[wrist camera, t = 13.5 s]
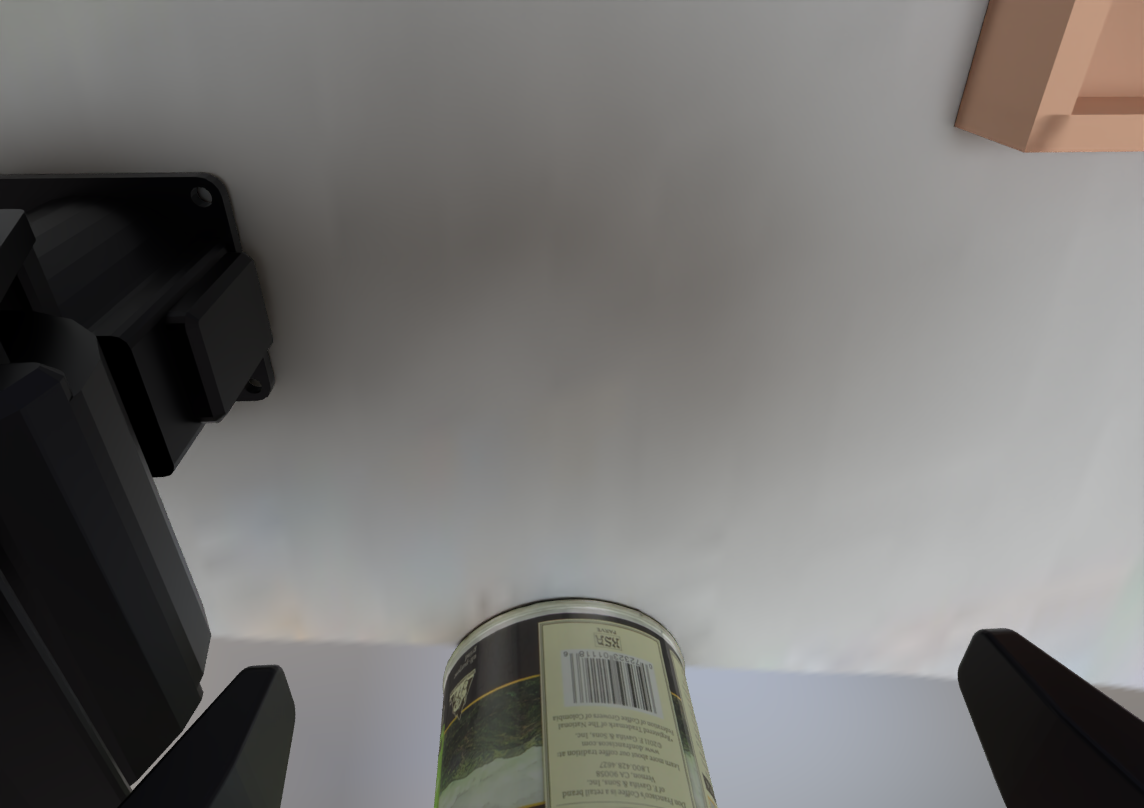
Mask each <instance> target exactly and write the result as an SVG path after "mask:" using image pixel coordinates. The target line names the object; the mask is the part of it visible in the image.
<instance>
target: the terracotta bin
mask: <svg viewBox="0 0 1144 808" xmlns="http://www.w3.org/2000/svg"><path fill="white" fill-rule="evenodd" d="M955 127H957V128H960V129H963V130H965V131H968V132H971V133H973V134H976V135H979V136H981V137H984V138H987V139H989V140H992V141H995V142H998V143H1000V144H1003V145H1006V146H1008V147H1011V148H1014V149H1016V150H1019V151H1022V152H1126V151H1144V0H990V1H989V5H988V8H987V12H986V16H985V19H984V23H983V26H982V30H981V33H980V37H979V40H978V44H977V48H976V51H975V55H974V58H973V62H972V65H971V69H970V72H969V76H968V80H967V83H966V87H965V90H964V94H963V97H962V101H961V104H960V108H959V112H958V115H957V119H956V122H955Z"/></svg>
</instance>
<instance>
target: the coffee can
mask: <svg viewBox="0 0 1144 808" xmlns="http://www.w3.org/2000/svg"><path fill="white" fill-rule="evenodd" d="M443 694H444V699H443V710H442V723H441V735H440V747H439V755H438V770H437V780H436V791H435V802H434V808H717V804H716V800H715V796H714V791H713V787H712V783H711V779H710V775H709V772H708V767H707V763H706V760H705V755H704V751H703V747H702V743H701V739H700V735H699V731H698V727H697V723H696V719H695V715H694V711H693V707H692V703H691V698H690V694H689V690H688V686H687V682H686V677H685V663H684V659H683V657H682V654H681V651H680V648H679V646H678V645H677V643H676V642H675V640H674V638H673V637H672V636H671V635H670V634H669V632H668V631H666V630H665V629H664V628H663V627H662V626H661V625H660V624H659V623H657V622H656V621H654V620H653V619H651V618H650V617H648V616H646V615H644V614H642V613H641V612H639V611H636V610H633V609H630V608H626V607H623V606H620V605H616V604H613V603H607V602H601V601H595V600H557V601H548V602H539V603H535V604H533V605H530V606H526V607H521V608H518V609H514V610H512V611H509V612H507V613H504V614H502V615H499V616H497V617H495V618H493V619H491V620H490V621H488V622H486V623H485V624H483V625H482V626H480V627H479V628H477V629H476V630H474V631H473V632H472V633H471V634H470V635H469V636H467V637H466V638H465V639H464V640H463V641H462V642H461V643H460V644H459V645H458V646H457V648H456V649H455V651H454V652H453V654H452V656H451V658H450V659H449V661H448V663H447V666H446V669H445V673H444V678H443Z"/></svg>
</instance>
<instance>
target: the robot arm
mask: <svg viewBox="0 0 1144 808" xmlns="http://www.w3.org/2000/svg"><path fill="white" fill-rule="evenodd" d="M197 187H202V188H205V189H206V190H208V191H209V192H210V194H211V196H212V202H211V203H208V202H204V201H203V200H202V199H200V198H199V196H198V194H197ZM272 342H273V337H272V333H271V329H270V325H269V321H268V317H267V312H266V308H265V304H264V300H263V296H262V292H261V288H260V284H259V280H258V276H257V272H256V268H255V263H254V260H253V259H251V258H250V257H249V256H248V255H247V254H246V253H245V252H242V248H241V244H240V240H239V236H238V232H237V228H236V224H235V220H234V216H233V212H232V208H231V204H230V200H229V196H228V193H227V190H226V188H225V186H224V184H223V183H222V182H221V181H220V180H219V179H218V178H216V177H214V176H213V175H211V174H207V173H117V174H17V175H0V808H280V805H281V799H282V794H283V788H284V782H285V776H286V770H287V764H288V759H289V753H290V747H291V742H292V736H293V730H294V723H295V705H294V701H293V698H292V695H291V692H290V689H289V686H288V683H287V680H286V677H285V674H284V672H283V669H282V668H281V667H280V666H278V665H258V666H250V667H247V668H245V669H244V670H242V671H241V672H240V673H239V674H238V675H237V676H236V677H235V678H234V680H233V681H232V682H231V683H230V684H229V685H228V686H227V687H226V688H225V689H224V691H223V692H222V693H221V694H220V695H219V696H218V697H217V698H216V699H215V700H214V702H213V703H212V704H211V705H210V706H209V707H208V708H207V709H206V710H205V712H204V713H203V714H202V715H201V716H200V717H199V718H198V719H197V720H196V721H195V723H194V724H193V725H192V726H191V727H190V728H189V729H188V730H187V731H186V732H185V733H184V735H183V736H182V737H181V738H180V739H179V740H178V741H177V742H176V743H175V745H174V746H173V747H172V748H171V749H170V750H169V751H168V752H167V753H166V754H165V755H164V757H163V758H162V759H161V760H160V761H159V762H158V763H157V764H156V765H155V766H154V768H153V769H152V770H151V771H150V772H149V773H148V774H147V775H146V776H145V777H144V779H143V780H142V781H141V782H140V783H139V784H138V785H137V786H136V787H135V789H134V790H133V791H132V789H131V788H130V786H131V785H132V784H133V783H135V782H136V781H137V780H138V779H139V778H140V777H141V776H142V775H143V774H144V773H145V771H146V770H147V769H148V768H149V767H150V766H151V765H152V764H153V763H154V762H155V761H156V759H157V758H158V757H159V756H160V755H161V754H162V753H163V752H164V751H165V750H166V748H167V747H168V746H169V745H170V744H171V743H172V742H173V741H174V740H175V738H177V736H178V735H179V734H180V733H181V732H182V731H183V729H184V728H185V726H186V724H187V723H188V721H189V719H190V718H191V716H192V715H193V713H194V711H195V710H196V708H197V706H198V705H199V703H200V701H201V699H202V696H203V690H202V687H201V685H200V681H201V679H202V676H203V674H204V668H205V664H206V659H207V653H208V648H209V643H210V638H211V632H210V629H209V625H208V622H207V618H206V614H205V611H204V607H203V604H202V601H201V599H200V596H199V594H198V591H197V588H196V586H195V583H194V581H193V578H192V576H191V573H190V571H189V568H188V566H187V563H186V561H185V558H184V556H183V553H182V551H181V548H180V546H179V543H178V541H177V538H176V536H175V533H174V531H173V528H172V526H171V523H170V521H169V518H168V516H167V513H166V511H165V508H164V505H163V503H162V500H161V498H160V495H159V493H158V490H157V488H156V485H155V483H154V480H153V478H152V477H165V476H169V475H171V474H172V473H173V471H174V470H175V469H176V467H177V466H178V464H179V463H180V461H181V460H182V458H183V457H184V455H185V454H186V452H187V451H188V449H189V448H190V446H191V445H192V443H193V442H194V440H195V439H196V437H197V436H198V434H199V433H200V431H201V430H202V428H203V427H204V425H205V424H206V423H219V422H220V421H221V420H222V419H223V418H224V417H225V416H226V415H227V413H228V412H229V410H230V409H231V407H232V406H233V404H234V403H235V401H258V400H263V399H265V398H266V397H268V395H269V394H270V392H271V390H272V388H273V386H274V384H275V382H274V375H273V371H272V367H271V363H270V359H269V355H268V351H267V350H268V349H269V347H270V346H271V344H272ZM249 379H256V380H257V381H259V382H260V383H261V385H262V386H260V387H257V386H254V385H252V384H251V383H250V382H249ZM958 682H959V686H960V689H961V692H962V695H963V697H964V700H965V702H966V705H967V708H968V710H969V713H970V715H971V718H972V720H973V723H974V726H975V729H976V731H977V734H978V736H979V739H980V742H981V744H982V747H983V749H984V752H985V754H986V757H987V760H988V762H989V765H990V768H991V770H992V773H993V775H994V778H995V781H996V783H997V786H998V788H999V790H1000V793H1001V795H1002V798H1003V800H1004V802H1005V804H1006V807H1007V808H1144V722H1143V721H1142V720H1141V719H1139V718H1138V717H1136V716H1135V715H1133V714H1132V713H1131V712H1129V711H1128V710H1126V709H1125V708H1124V707H1122V706H1121V705H1119V704H1118V703H1116V702H1115V701H1113V700H1112V699H1111V698H1109V697H1108V696H1106V695H1105V694H1104V693H1102V692H1101V691H1099V690H1098V689H1097V688H1095V687H1094V686H1092V685H1091V684H1089V683H1088V682H1087V681H1085V680H1084V679H1082V678H1081V677H1079V676H1078V675H1077V674H1075V673H1074V672H1072V671H1071V670H1070V669H1068V668H1067V667H1065V666H1064V665H1062V664H1061V663H1060V662H1058V661H1057V660H1055V659H1054V658H1052V657H1051V656H1050V655H1048V654H1047V653H1045V652H1044V651H1043V650H1041V649H1040V648H1038V647H1037V646H1035V645H1034V644H1033V643H1031V642H1030V641H1028V640H1027V639H1025V638H1024V637H1023V636H1021V635H1020V634H1018V633H1017V632H1015V631H1013V630H1010V629H1006V628H997V629H981V630H979V631H977V632H976V633H975V634H974V635H973V637H972V639H971V641H970V644H969V646H968V648H967V650H966V652H965V654H964V657H963V659H962V661H961V663H960V665H959V668H958Z"/></svg>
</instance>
